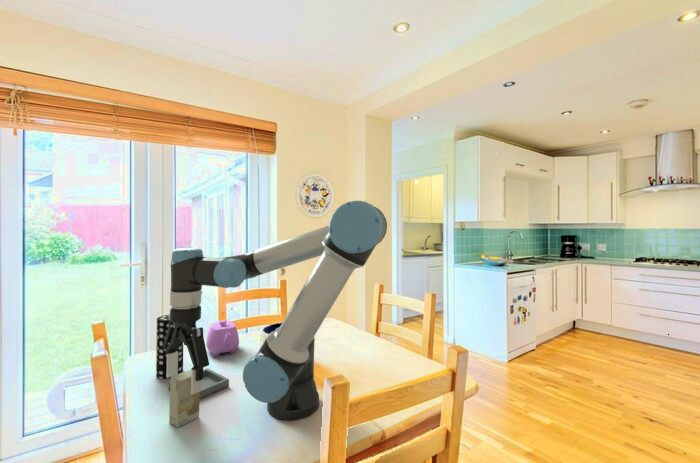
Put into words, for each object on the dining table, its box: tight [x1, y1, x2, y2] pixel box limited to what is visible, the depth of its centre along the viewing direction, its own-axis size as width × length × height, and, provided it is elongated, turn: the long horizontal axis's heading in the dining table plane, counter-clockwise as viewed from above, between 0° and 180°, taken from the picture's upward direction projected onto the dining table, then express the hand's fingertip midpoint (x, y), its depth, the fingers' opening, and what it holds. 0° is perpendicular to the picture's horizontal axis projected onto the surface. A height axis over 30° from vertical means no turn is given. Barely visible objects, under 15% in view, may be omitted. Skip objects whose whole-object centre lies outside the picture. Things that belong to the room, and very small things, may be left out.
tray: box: [168, 367, 230, 401], centre depth 103 cm, size 13×13×2 cm
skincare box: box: [168, 369, 200, 428], centre depth 87 cm, size 6×4×12 cm
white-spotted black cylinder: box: [155, 314, 184, 380], centre depth 113 cm, size 8×8×20 cm
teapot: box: [205, 319, 240, 357], centre depth 134 cm, size 20×12×13 cm, turn 33°
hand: (183, 383), depth 87 cm, fingers open, 13 cm apart
